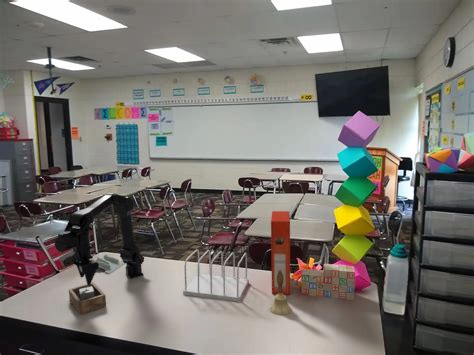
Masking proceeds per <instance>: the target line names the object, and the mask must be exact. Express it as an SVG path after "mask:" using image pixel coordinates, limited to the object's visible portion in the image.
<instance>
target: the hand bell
mask: <svg viewBox="0 0 474 355" xmlns="http://www.w3.org/2000/svg"><path fill="white" fill-rule="evenodd" d="M277 284H278V294H274V295H275V296H274V299H273V303H272V304H271V305H270V307H269V311H270V313H272V314H274V315H278V316H285V315H289V314H291V312H292V307H291V306H290V305H289V304H288V301H287V295H283V293H282V285H283V274H282V271H281V270H278V274H277Z"/></svg>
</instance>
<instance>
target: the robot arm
mask: <svg viewBox="0 0 474 355" xmlns="http://www.w3.org/2000/svg"><path fill="white" fill-rule="evenodd" d="M112 205H113V207H114V210H115V212H116V213H117V215H118V216H119V222H120V229H121V237H122V244H123V245H122V246H121V248H120V249H119V258H121V261H122V260H123V262H124V263H126V264H125V275H126V276H127V277H129V278H130V279H134V278H137V277H140V276H143V275H144V273H143V272H142V271H143V270H142V269H143V268H142V265H143V263H144V262H145V257H144V256H143V255H142V254H140V250H139V247H138V245H136V243H135V237H134V230H133V222H132V213H133V211H134V199H133V198H132V197H131V196H123V195H120V194H118V193H116V192H115V193H114V192H106V193H105V194H104V196H102V197H100V198H98V200H96V201H95V202H93V203H91V205H89V206H88V207H86V208H84V209H83V208H82V209H78V210H77V211H75V212H73V213H72V214H70V217H69V219H68V221H67V224H66V225H65V226H66V227H65V228H64V230H63V232H62V233H61V232H60V233H58V234H57V237H56V238H55V241H54V247H55V250H57V251H58V252H59V253H64V252H67V251H68V252H67V253H65V254H63V255H62V256H61V255H60V256H59V258H58V259H59V261H60V263H61V264H62V266H63V267H64V268H67V267H69V266H70V265H72V264H74V265H75V266H76V269H77V271H78V273H79V277H80V278H85V282H86V284H87V285H90V284H91V283H92V281H93V280H94V277H95V274H96V273H97V271H98V269H99V268H100V267H99V263H97V262H96V260H95V259H94V256H93V254H92V249H93V246H92V245H91V238H90V232H91V231H93V230H94V228H93V227H92V226H91V225H92V224H93V222H95V219H96V217H97V216H99V215H100V214H101V213H103V212H104V211H105V210H106V209H108V208H109V207H110V206H112ZM69 250H71V251H69Z"/></svg>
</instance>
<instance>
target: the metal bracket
mask: <svg viewBox="0 0 474 355" xmlns="http://www.w3.org/2000/svg"><path fill="white" fill-rule="evenodd" d="M95 261H96V262H97V263H99V268H100V269H103V270H105V271H104V273H106V274H108V275H110V274H112V273H114V272H115V271H116V270H118V269H120V268H121V267H123V266H124V265H126V263H124V262H123V260H122V259H121V260H120V261H119V259H118V258H115V257H112V256H109V255H108V254H104V255H103V256H101V257H97V258H96V260H95Z"/></svg>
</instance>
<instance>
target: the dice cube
mask: <svg viewBox="0 0 474 355" xmlns="http://www.w3.org/2000/svg"><path fill="white" fill-rule="evenodd" d="M79 294H80V301H83V300H86V299H90V298H93V297H94V290H93V287H92V286H91V287H87V288H82V289H79Z"/></svg>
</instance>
